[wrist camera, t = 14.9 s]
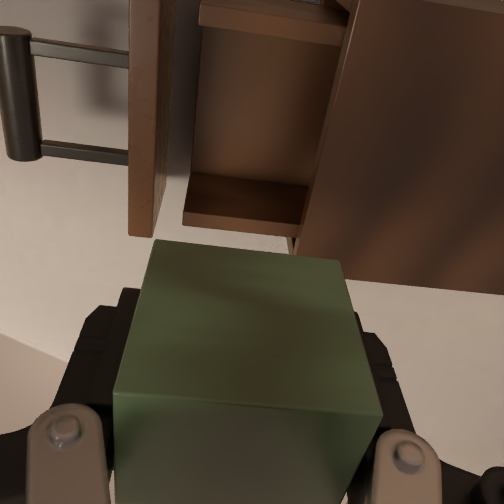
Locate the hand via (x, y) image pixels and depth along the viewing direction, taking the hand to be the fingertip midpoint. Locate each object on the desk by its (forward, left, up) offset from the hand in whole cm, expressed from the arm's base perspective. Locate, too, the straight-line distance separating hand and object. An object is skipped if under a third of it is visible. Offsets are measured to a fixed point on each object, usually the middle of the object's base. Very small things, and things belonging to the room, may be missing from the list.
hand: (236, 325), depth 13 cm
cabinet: (+11, +1, -18) cm, 21 cm away
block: (0, 0, 0) cm, 0 cm away
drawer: (0, +1, -17) cm, 17 cm away
